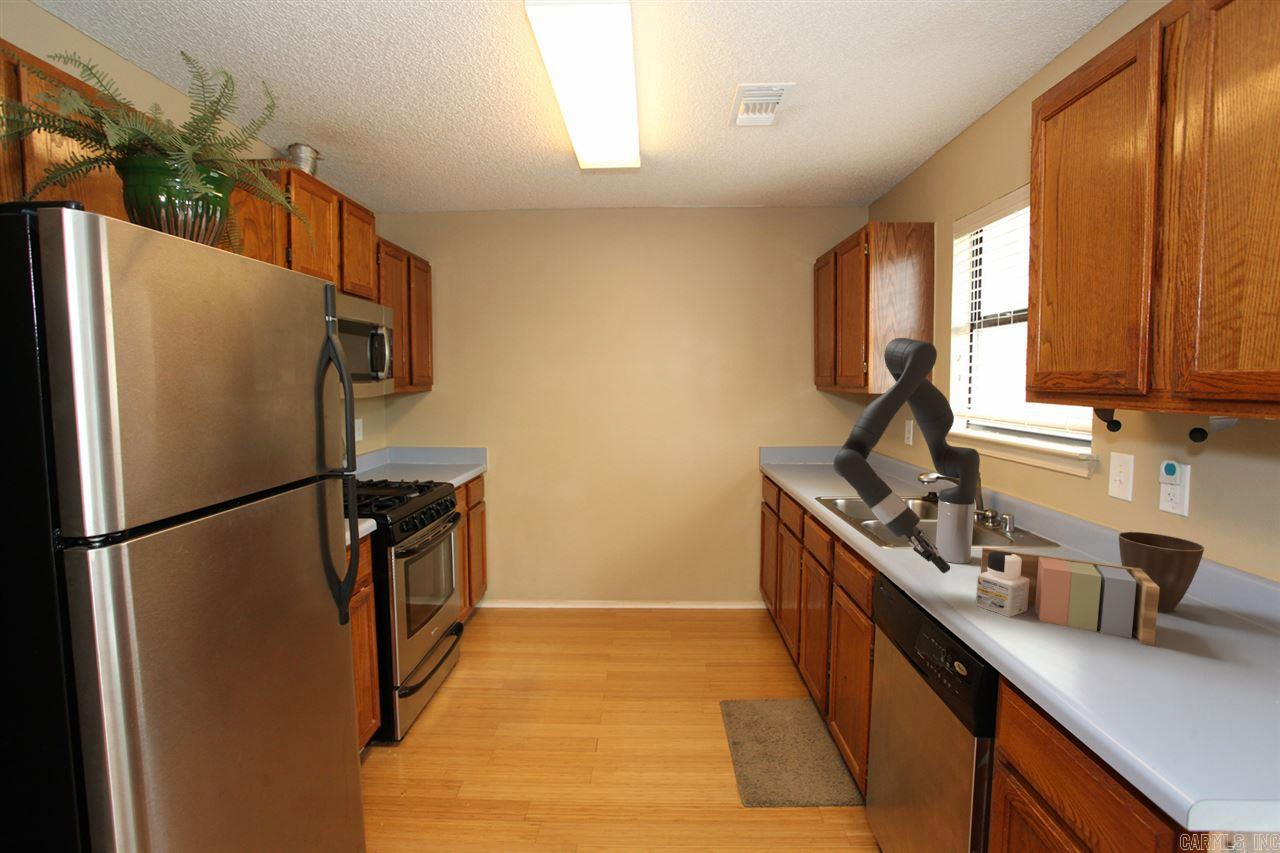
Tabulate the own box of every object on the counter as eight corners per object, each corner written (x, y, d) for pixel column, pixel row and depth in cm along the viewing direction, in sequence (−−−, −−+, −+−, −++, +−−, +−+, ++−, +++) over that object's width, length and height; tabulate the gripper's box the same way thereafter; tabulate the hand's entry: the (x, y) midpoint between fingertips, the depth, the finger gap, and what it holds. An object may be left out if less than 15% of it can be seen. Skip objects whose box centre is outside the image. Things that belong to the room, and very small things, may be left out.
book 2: (1061, 611, 133) (1065, 560, 132) (1088, 616, 130) (1092, 564, 129) (1067, 626, 125) (1072, 572, 124) (1096, 631, 122) (1101, 576, 121)
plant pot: (1202, 609, 135) (1209, 542, 134) (1191, 625, 126) (1198, 554, 125) (1121, 590, 147) (1127, 528, 145) (1105, 604, 138) (1111, 538, 136)
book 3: (1092, 617, 130) (1096, 565, 129) (1120, 622, 127) (1125, 569, 126) (1100, 632, 122) (1105, 577, 121) (1131, 637, 120) (1136, 581, 119)
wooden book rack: (979, 594, 142) (982, 547, 141) (1136, 621, 128) (1140, 568, 127) (981, 614, 130) (984, 562, 129) (1154, 646, 116) (1159, 588, 115)
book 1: (1034, 606, 135) (1038, 556, 134) (1060, 611, 133) (1064, 560, 132) (1039, 620, 127) (1043, 567, 126) (1067, 625, 125) (1071, 571, 124)
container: (974, 605, 135) (978, 551, 134) (993, 599, 139) (996, 547, 138) (1009, 617, 129) (1013, 561, 128) (1027, 611, 133) (1032, 555, 131)
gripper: (905, 510, 136) (960, 569, 132) (909, 500, 148) (960, 554, 143) (879, 529, 139) (933, 587, 135) (885, 517, 151) (935, 571, 146)
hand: (947, 570), depth 139 cm, fingers closed
